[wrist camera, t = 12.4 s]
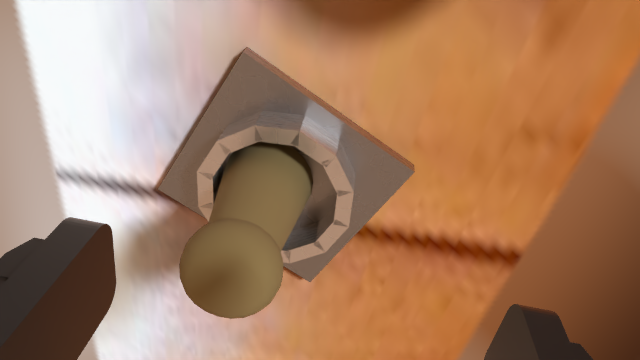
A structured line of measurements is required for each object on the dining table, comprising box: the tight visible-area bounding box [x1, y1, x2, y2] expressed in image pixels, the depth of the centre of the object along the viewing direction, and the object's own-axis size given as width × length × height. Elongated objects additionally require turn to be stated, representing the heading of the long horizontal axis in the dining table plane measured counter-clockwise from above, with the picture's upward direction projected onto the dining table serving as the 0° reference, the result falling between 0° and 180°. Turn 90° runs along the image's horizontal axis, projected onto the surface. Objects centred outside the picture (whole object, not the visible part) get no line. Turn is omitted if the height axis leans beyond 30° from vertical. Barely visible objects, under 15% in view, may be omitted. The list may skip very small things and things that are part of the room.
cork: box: [180, 142, 313, 319], centre depth 28 cm, size 6×6×11 cm
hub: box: [158, 47, 415, 282], centre depth 32 cm, size 13×12×3 cm
